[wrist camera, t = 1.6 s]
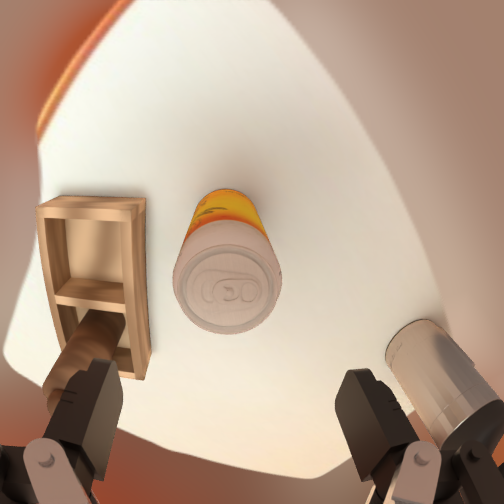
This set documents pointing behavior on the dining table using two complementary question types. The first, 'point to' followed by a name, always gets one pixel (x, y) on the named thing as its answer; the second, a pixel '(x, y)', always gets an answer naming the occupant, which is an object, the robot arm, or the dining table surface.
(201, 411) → the dining table surface
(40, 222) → the caddy
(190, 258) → the beer can
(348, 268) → the dining table surface
